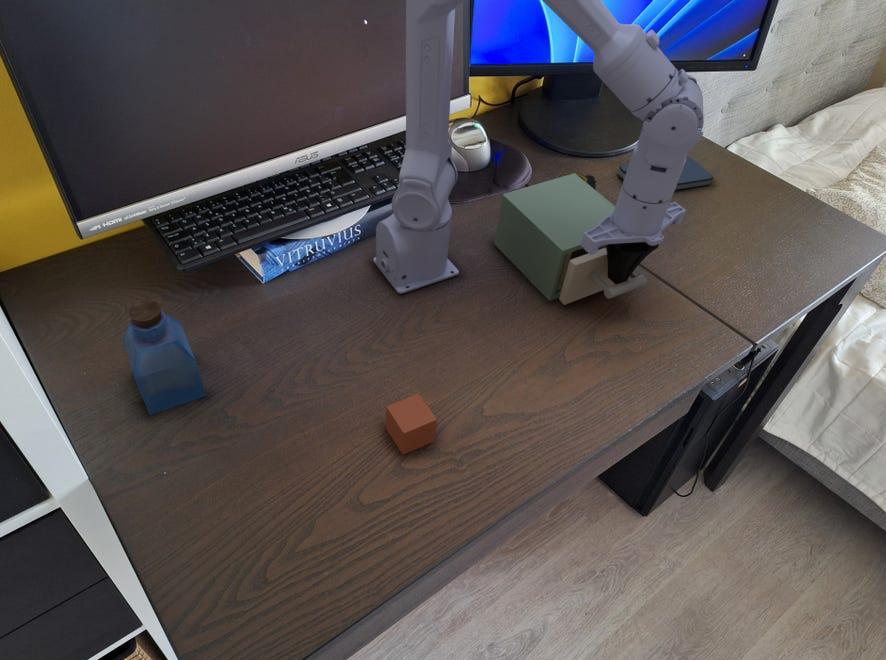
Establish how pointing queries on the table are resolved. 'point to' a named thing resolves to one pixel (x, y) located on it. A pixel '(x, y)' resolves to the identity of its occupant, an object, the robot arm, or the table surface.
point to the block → (410, 423)
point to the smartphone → (685, 175)
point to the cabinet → (548, 227)
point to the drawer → (591, 277)
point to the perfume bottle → (161, 358)
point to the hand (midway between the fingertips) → (616, 279)
